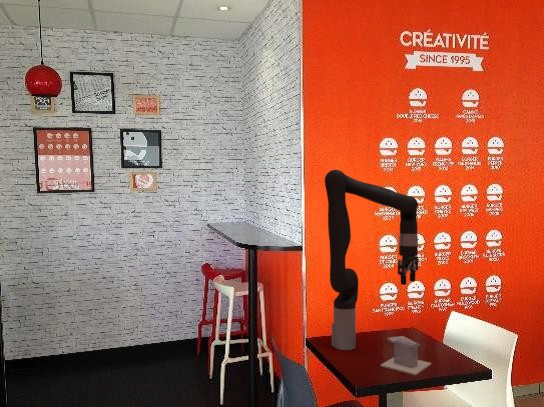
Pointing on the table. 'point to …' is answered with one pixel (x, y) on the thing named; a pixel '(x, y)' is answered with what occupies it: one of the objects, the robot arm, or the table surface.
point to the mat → (406, 367)
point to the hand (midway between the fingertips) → (408, 282)
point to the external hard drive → (399, 338)
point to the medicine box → (406, 352)
